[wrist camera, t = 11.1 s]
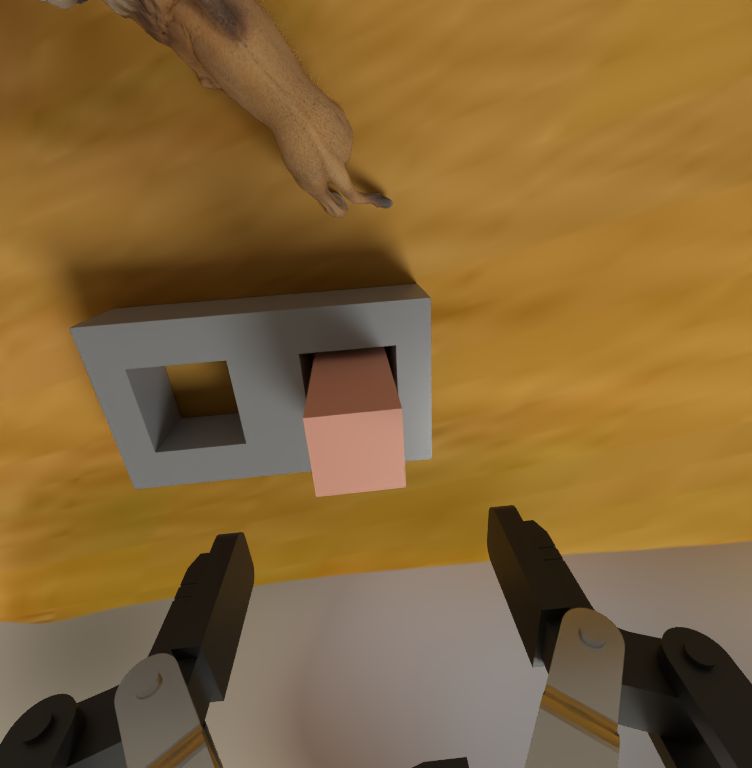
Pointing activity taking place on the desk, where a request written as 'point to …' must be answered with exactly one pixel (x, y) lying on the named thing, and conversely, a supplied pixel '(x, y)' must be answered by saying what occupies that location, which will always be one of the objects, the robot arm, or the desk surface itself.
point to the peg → (354, 423)
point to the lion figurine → (258, 84)
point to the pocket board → (247, 376)
